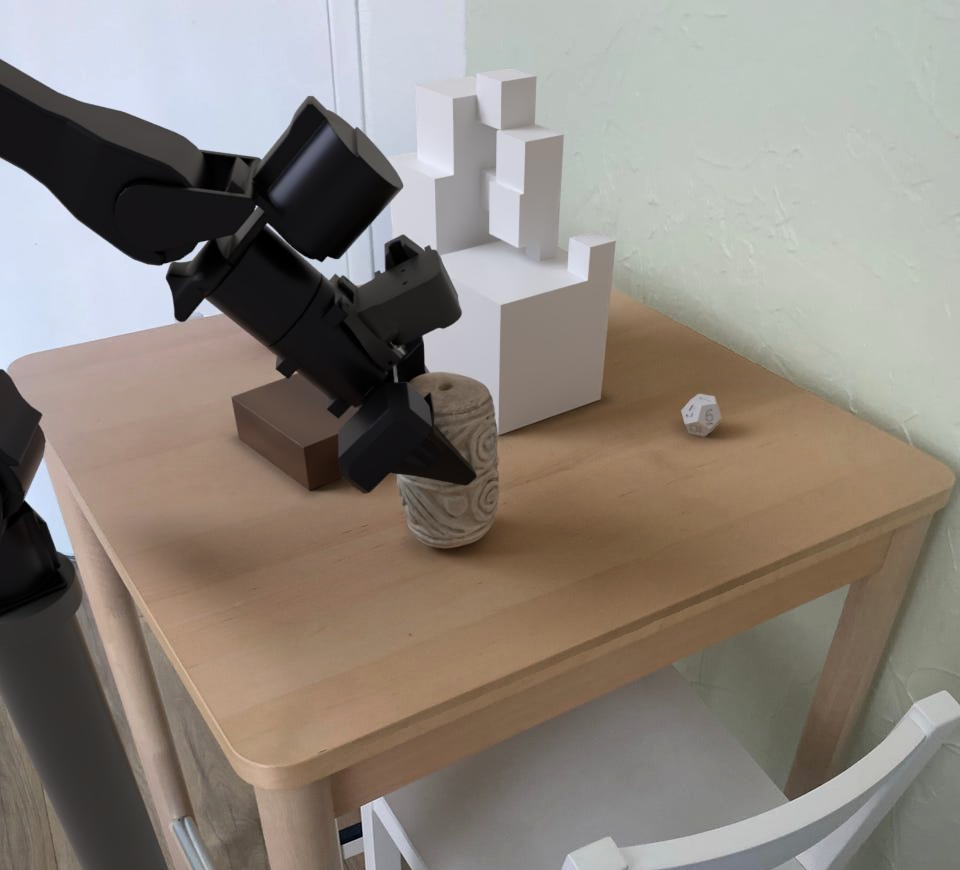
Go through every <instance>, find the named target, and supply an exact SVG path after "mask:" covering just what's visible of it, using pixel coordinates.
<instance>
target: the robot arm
mask: <svg viewBox="0 0 960 870" xmlns="http://www.w3.org/2000/svg"><path fill="white" fill-rule="evenodd" d="M0 159H1V160H2V161H5V162H7V163H8V164H11V165H13V166H14V167H16V168H18V169H20V170H21V171H23V172H24V173H26V174H28V175H29V176H30V177H32V178H33V179H34V180H35V181H37V182H38V183H40V184H41V185H42V186H44V187H45V188H46V189H47V190H48V191H49V192H50V194H52V195H53V197H55V199H56V200H58V202H59V203H60V204H61V205H62V206H63V207H64V208H65V209H66V210H67V211H68V212H69V213H70V215H72V217H74V218H75V219H76V220H77V221H78V222H80V223H81V224H82V225H83V226H85V227H86V228H87V229H89V230H90V231H91V232H93V233H95V234H96V235H98V236H99V237H100V238H101V239H102V240H105V241H106V242H107V243H108V244H110V245H111V246H113V247H114V248H115V249H117V250H118V251H119V252H121V253H122V254H124V255H126V256H127V257H129V258H130V259H131V260H134V261H137V262H139V263H141V264H145V265H149V266H156V267H157V266H158V267H161V266H163V265H164V264H165V265H166V264H169V266H168V269H167V271H166V275H165V280H166V282H167V284H168V286H169V290H170V292H171V297H172V305H173V316H174V319H175V321H177V322H180V323H185V322H186V321H187V320H188V319H189V318H190V317H191V316H192V314H193V313H194V312H195V311H196V309H197V308H198V307H199V306H200V305H201V304H202V303H203V301H204V300H206V301H207V302H209V303H210V304H211V305H212V306H214V307H215V308H216V309H217V310H218V311H220V312H221V313H222V314H223V315H225V316H226V317H227V318H228V319H230V320H231V321H232V322H234V324H236V325H237V326H239V327H240V328H241V329H242V330H243V331H245V332H246V333H247V334H248V335H250V336H251V337H252V338H254V339H255V340H256V341H257V342H259V343H260V344H261V345H262V346H264V347H265V348H267V350H269V351H270V352H271V353H273V355H275V356H276V360H275V371H277V372H278V373H280V375H282V376H284V378H287V379H289V378H290V377H291V376H292V375H294V374H296V373H299V374H300V375H301V376H303V377H304V378H305V379H306V380H308V381H309V382H310V383H311V384H313V385H314V386H315V387H316V388H318V389H319V390H320V391H321V392H323V393H324V394H325V395H326V396H327V410H328V411H329V412H330V413H332V414H333V415H334V416H336V417H337V418H338V419H339V418H340V417H341V416H342V415H343V414H344V413H345V412H346V411H347V410H348V409H349V408H350V407H351V406H353V407H355V408H357V407H358V411H357V412H356V413H355V414H354V415H353V416H352V417H351V418H350V419H349V420H348V421H347V422H346V423H345V424H344V425H343V426H342V427H341V428H340V429H339V430H338V445H339V469H340V479H341V478H342V480H344V481H345V482H347V483H348V484H349V485H350V486H352V487H354V488H355V489H356V490H357V491H358V492H360V493H361V494H370V493H371V492H372V491H373V490H374V489H375V488H376V487H378V485H379V484H381V482H383V481H384V480H385V479H386V478H387V477H388V476H389V475H390V474H393V475H394V474H395V475H397V474H402V475H410V476H417V477H422V478H428V479H433V480H438V481H443V482H449V483H454V484H459V485H464V486H467V485H469V484H470V483H471V482H472V481H473V480H474V479H475V478H476V477H477V475H476V472H475V471H474V469H473V468H472V467H471V466H470V464H469V463H468V462H467V461H466V459H465V458H464V457H463V456H462V455H461V454H460V453H459V451H458V450H457V449H456V448H455V447H454V446H453V445H452V443H451V442H450V441H449V440H448V439H447V438H446V437H445V435H444V434H443V433H442V432H441V431H440V430H439V429H438V427H437V426H436V425H435V424H434V419H435V412H434V406H433V399H432V394H431V392H429V393H428V394H427V395H426V396H425V397H424V398H423V397H422V396H421V394H420V393H419V392H418V391H417V390H416V389H415V388H413V387H412V386H411V385H410V384H409V382H410V381H411V380H412V379H414V378H415V377H417V376H420V375H422V374H426V373H430V372H429V370H428V369H427V367H426V365H425V354H424V340H423V335H425V334H427V333H429V332H431V331H433V330H435V329H437V328H441V329H445V328H447V327H449V326H451V325H452V324H454V323H455V322H456V321H458V320H459V318H460V317H461V315H462V310H461V308H460V305H459V300H458V294H457V292H456V290H455V288H454V285H453V283H452V281H451V279H450V277H449V275H448V273H447V271H446V269H445V267H444V264H443V262H442V259H441V257H440V256H439V254H438V252H437V251H436V250H432V249H431V247H430V245H428V246H426V247H424V249H425V251H424V250H423V249H422V248H421V247H420V246H419V245H417V244H416V243H415V242H413V241H412V240H411V239H409V238H408V237H407V236H405V235H404V234H403V235H400V236H398V237H396V238H394V239H390V240H389V241H387V242H385V243H384V246H383V248H384V271H383V272H381V270H377V271H375V272H374V273H373V275H374V277H373V278H372V279H371V280H369V281H367V282H365V283H364V284H362V285H359V286H357V285H356V284H355V283H354V282H352V281H351V280H350V279H349V278H348V277H347V276H346V275H343V274H342V275H341V276H339V275H337V273H334V274H333V275H332V277H331V278H330V279H329V278H327V277H326V276H325V275H324V274H323V273H322V272H320V271H319V270H318V269H317V268H316V267H315V266H313V265H312V264H311V263H310V262H309V261H308V260H307V259H310V260H316V261H318V262H320V263H323V262H324V261H325V260H326V259H327V258H330V259H333V260H340V259H341V258H342V257H343V255H344V254H346V252H347V251H348V250H349V249H350V248H351V247H352V246H353V244H354V243H355V242H356V241H357V240H359V238H360V237H361V236H362V235H363V234H364V232H365V231H366V230H367V229H368V228H369V227H370V226H371V224H372V223H373V222H374V221H375V220H376V219H377V217H379V216H380V215H381V213H382V212H383V211H384V210H385V209H386V208H387V207H388V206H389V205H390V202H391V201H392V200H393V199H394V197H395V196H396V195H397V194H398V193H399V192H400V191H401V190H402V188H403V183H402V181H401V178H400V177H399V175H398V173H397V172H396V170H395V169H394V168H393V166H392V165H391V163H390V162H389V161H388V157H386V156H385V154H384V153H383V152H382V151H381V150H380V148H379V147H378V146H377V145H376V144H375V143H374V142H373V141H372V140H371V139H370V138H369V137H368V135H367V134H365V132H364V131H363V130H362V129H360V128H359V126H356V127H353V126H352V125H351V124H350V123H348V121H346V120H345V119H344V118H342V117H341V116H340V115H339V114H337V113H335V112H334V111H332V110H330V109H327V108H326V107H325V106H324V104H322V103H321V102H320V101H319V100H318V99H317V98H316V97H315V96H314V95H308V96H306V98H305V99H304V100H303V101H302V102H301V104H300V105H299V106H298V108H297V109H296V110H295V112H294V114H293V116H292V118H291V120H290V122H289V125H288V126H287V127H286V129H285V130H284V131H283V132H282V134H281V135H280V136H279V138H278V139H277V140H276V141H275V143H274V144H273V145H272V146H271V147H270V148H269V150H268V151H267V153H266V154H265V155H264V157H262V158H260V157H258V156H251V155H245V154H237V153H230V152H221V151H215V150H214V151H213V150H206V149H200V148H198V146H197V145H195V143H194V142H192V141H191V140H189V138H187V137H186V136H184V135H182V134H180V133H178V132H176V131H174V130H171V129H168V128H166V127H164V126H161V125H158V124H156V123H153V122H150V121H148V120H146V119H144V118H141V117H138V116H136V115H133V114H131V113H128V112H125V111H124V110H123V111H122V110H118V109H115V108H110V107H106V106H103V105H98V104H92V103H88V102H84V101H81V100H78V99H76V98H74V97H71V96H69V95H66V94H63V93H60V92H59V91H57V90H55V89H53V88H51V87H50V86H48V85H46V84H45V83H43V82H41V81H39V80H37V79H36V78H34V77H32V76H31V75H29V74H28V73H26V72H24V71H22V70H21V69H20V68H17V67H16V66H14V65H12V64H10V63H9V62H7V61H5V60H4V59H2V58H0ZM267 224H268V225H267ZM269 226H270V227H269ZM203 242H205V244H204V245H203V246H202V247H201V249H200V250H199V251H198V253H197V254H196V255H195V256H194V257H193V258H192V260H188V261H187V260H186V261H181V260H183V259H184V258H185V257H187V256H189V254H191V253H192V252H193V251H194V250H195V249H196V248H197V246H198V245H199V243H203ZM306 258H307V259H306ZM42 418H43V412H41V411H39V410H38V409H36V408H35V407H33V405H31V404H30V403H29V402H28V401H27V400H26V399H25V398H24V397H23V396H22V393H20V391H19V390H18V387H17V386H16V384H15V382H14V379H12V377H11V376H10V374H8V373H7V371H5V369H3V368H0V616H1V615H4V614H6V613H8V612H11V611H13V610H15V609H18V608H20V607H22V606H25V605H27V604H29V603H32V602H34V601H36V600H39V599H41V598H43V597H46V596H48V595H50V594H53V593H55V592H57V591H60V590H62V589H64V588H65V587H66V586H67V583H66V580H65V578H64V577H63V576H62V575H61V574H60V573H59V572H58V571H57V570H56V569H58V568H60V566H61V562H60V559H59V556H58V553H57V551H58V550H57V548H56V545H55V542H54V539H53V537H52V534H51V531H50V529H49V525H48V523H47V522H46V521H45V519H44V518H43V517H42V516H41V515H40V514H39V513H38V512H37V511H36V510H35V509H34V508H33V507H32V506H31V505H30V504H29V503H28V501H26V500H25V499H26V497H27V494H28V492H29V490H30V488H31V485H32V483H33V481H34V479H35V477H36V474H37V472H38V470H39V467H40V465H41V463H42V461H43V458H44V455H45V451H46V443H47V440H46V439H47V438H46V436H45V433H44V431H43V429H42V427H41V425H40V423H41V420H42Z"/></svg>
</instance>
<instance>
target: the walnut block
mask: <svg viewBox="0 0 960 870" xmlns="http://www.w3.org/2000/svg"><path fill="white" fill-rule="evenodd" d="M231 403H232V408H233V413H234V420H235V424H236V429H237V435H238V439H239V440H240V441H242V442H243V443H244V444H246V445H247V446H248V447H250V448H251V449H252V450H254V451H255V452H256V453H258V454H259V455H260V456H262V457H263V458H265V459H266V460H267V461H269V462H270V463H271V464H273V465H274V466H275V467H277V468H278V469H280V470H281V471H282V472H283V473H285V474H286V475H288V477H290V478H292V479H293V480H294V481H296V482H297V483H298V484H300V485H301V486H302V487H304V488H305V489H306V490H308V491H313V490H314V489H317V488H319V487H321V486H324V485H326V484H329V483H331V482H333V481H335V480H337V479H341V477H340V469H339V445H338V430H339V429H340V428H341V427H342V426H343V425H344V424H345V423H346V422H347V421H348V420H349V419H350V418H351V417H352V416H353V415H354V414H355V413H356V412H357V411H358V407H357V408H355V407H353V406H351V407H350V408H349V409H348V410H347V411H346V412H345V413H344V414H343V415H342V416H341V417H340V418H339V419H338V418H337V417H336V416H334V415H333V414H332V413H330V412H329V411H328V410H327V396H326V395H325V394H324V393H323V392H321V391H320V390H319V389H318V388H316V387H315V386H314V385H313V384H311V383H310V382H309V381H308V380H306V379H305V378H304V377H303V376H301V375H300V374H299V373H298V372H296V373H294V374H293V375H292V376H291V377H290V378H289V379H287V378H286V377H283V378H281V379H277V380H274V381H272V382H269V383H267V384H264V385H261V386H258V387H255V388H252V389H249V390H247V391H244V392H240V393H239V394H236V395H233V396H231Z"/></svg>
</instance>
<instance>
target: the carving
mask: <svg viewBox="0 0 960 870" xmlns="http://www.w3.org/2000/svg"><path fill="white" fill-rule="evenodd" d="M409 384H410V385H411V386H412V387H413V388H415V389H416V390H417V391H418V392H419V393H420V394H421V396H422V397H423V398H424V397H425V396H426V395H427V394H428V393H429V392H431V394H432V399H433V406H434V412H435V419H434V424H435V425H436V426H437V427H438V429H439V430H440V431H441V432H442V433H443V434H444V435H445V437H446V438H447V439H448V440H449V441H450V442H451V443H452V445H453V446H454V447H455V448H456V449H457V450H458V451H459V453H460V454H461V455H462V456H463V457H464V458H465V459H466V461H467V462H468V463H469V464H470V466H471V467H472V468H473V469H474V471H475V472H476V475H477V477H476V478H475V479H474V480H473V481H472V482H471V483H470V484H469V485H467V486H464V485H459V484H454V483H449V482H443V481H438V480H433V479H428V478H422V477H417V476H410V475H402V474H396V485H397V489H398V494H399V497H401V499H400V503H401V505H402V507H403V511H404V515H405V518H406V523H407V526H408V529H409V532H411V533H412V534H413V536H414V537H415V538H416V540H417V541H419V542H420V543H421V544H423V545H425V546H426V547H429V548H437V549H453V548H458V547H463V546H465V545H469V544H472V543H474V542H477V541H478V540H480V539H481V538H483V537H484V535H486V534H487V533H488V532H489V530H490V529H491V527H492V526H493V524H494V522H495V520H496V517H497V516H496V515H497V514H498V510H499V493H500V492H499V491H500V489H499V488H500V483H499V481H500V473H499V470H498V467H499V465H500V463H499V462H500V458H499V456H498V441H499V439H498V438H499V435H498V430H497V424H496V419H495V418H494V417H495V411H494V410H495V408H494V404H493V398H492V396H491V394H490V392H489V390H488V388H487V387H486V386H485V385H484V384H483V383H481V382H479V381H477V380H475V379H472V378H470V377H467V376H463V375H459V374H455V373H448V372H432V373H426V374H422V375H420V376H417V377H415V378H414V379H412V380H411V381H410V382H409Z"/></svg>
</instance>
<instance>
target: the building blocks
mask: <svg viewBox="0 0 960 870" xmlns="http://www.w3.org/2000/svg"><path fill="white" fill-rule="evenodd" d="M537 77H538V76H537V75H535V74H531V73H529V72H526V71H522V70H518V69H515V68H512V67H510V68H502V69H495V70H490V71H482V72H476V73H475V76H474V75H468V76H462V77H456V78H449V79H443V80H436V81H431V82H423V83H415V84H414V94H415V115H416V116H415V120H416V121H415V122H416V123H415V124H416V151H412V152H406V153H399V154H395V155H390V156H387V160H388V161H389V162H390V163H391V165H392V166H393V168H394V169H395V170H396V172H397V173H398V175H399V177H400V178H401V181H402V183H403V188H402V190H401V191H400V192H399V193H398V194H397V195H396V196H395V197H394V199H393V200H392V201H391V202H390V203H389V205H390V218H391V238H392V239H394V238H396V237H398V236H400V235H403V234H404V235H405V236H407V237H408V238H409V239H411V240H412V241H413V242H415V243H416V244H417V245H419V246H420V247H421V248H422V249H423V250H424V251H425V249H424V247H426V246H428V245H430V247H431V249H432V250H436V251H437V252H438V254H439V256H440V257H441V259H442V262H443V264H444V267H445V269H446V271H447V273H448V275H449V277H450V279H451V281H452V283H453V285H454V288H455V290H456V292H457V294H458V300H459V305H460V308H461V310H462V315H461V317H460V318H459V320H458V321H456V322H455V323H454V324H452V325H451V326H449V327H447V328H445V329H441V328H437V329H435V330H433V331H431V332H429V333H427V334H425V335H423V340H424V354H425V365H426V367H427V369H428V370H429V372H430V373H432V372H448V373H455V374H459V375H463V376H467V377H470V378H472V379H475V380H477V381H479V382H481V383H483V384H484V385H485V386H486V387H487V388H488V390H489V392H490V394H491V396H492V398H493V404H494V408H495V410H494V411H495V417H494V418H495V419H496V424H497V430H498V436H500V435H504V434H506V433H509V432H512V431H514V430H518V429H520V428H523V427H526V426H529V425H532V424H534V423H537V422H541V421H543V420H546V419H548V418H552V417H555V416H557V415H560V414H563V413H566V412H569V411H572V410H574V409H577V408H580V407H583V406H586V405H589V404H592V403H594V402H597V401H600V400H601V399H602V387H603V378H604V370H605V369H604V368H605V367H604V366H605V358H606V347H607V336H608V326H609V317H610V316H609V315H610V306H611V305H610V304H611V294H612V285H613V274H614V273H613V272H614V264H615V263H614V262H615V252H616V242H617V241H616V240H615V239H613V238H611V237H609V236H607V235H604V234H602V233H600V232H598V231H596V230H594V231H590V232H585V233H582V234H578V235H573V236H570V237H569V238H568V250H565V249H564V248H561V247H559V246H558V245H559V244H558V243H559V230H560V229H559V228H560V212H561V210H560V209H561V191H562V175H563V157H564V156H563V155H564V142H565V141H564V138H565V134H564V133H561V132H558V131H556V130H553V129H551V128H548V127H545V126H542V125H539V124H536V103H537V102H536V100H537V79H538V78H537ZM392 239H391V240H392Z"/></svg>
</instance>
